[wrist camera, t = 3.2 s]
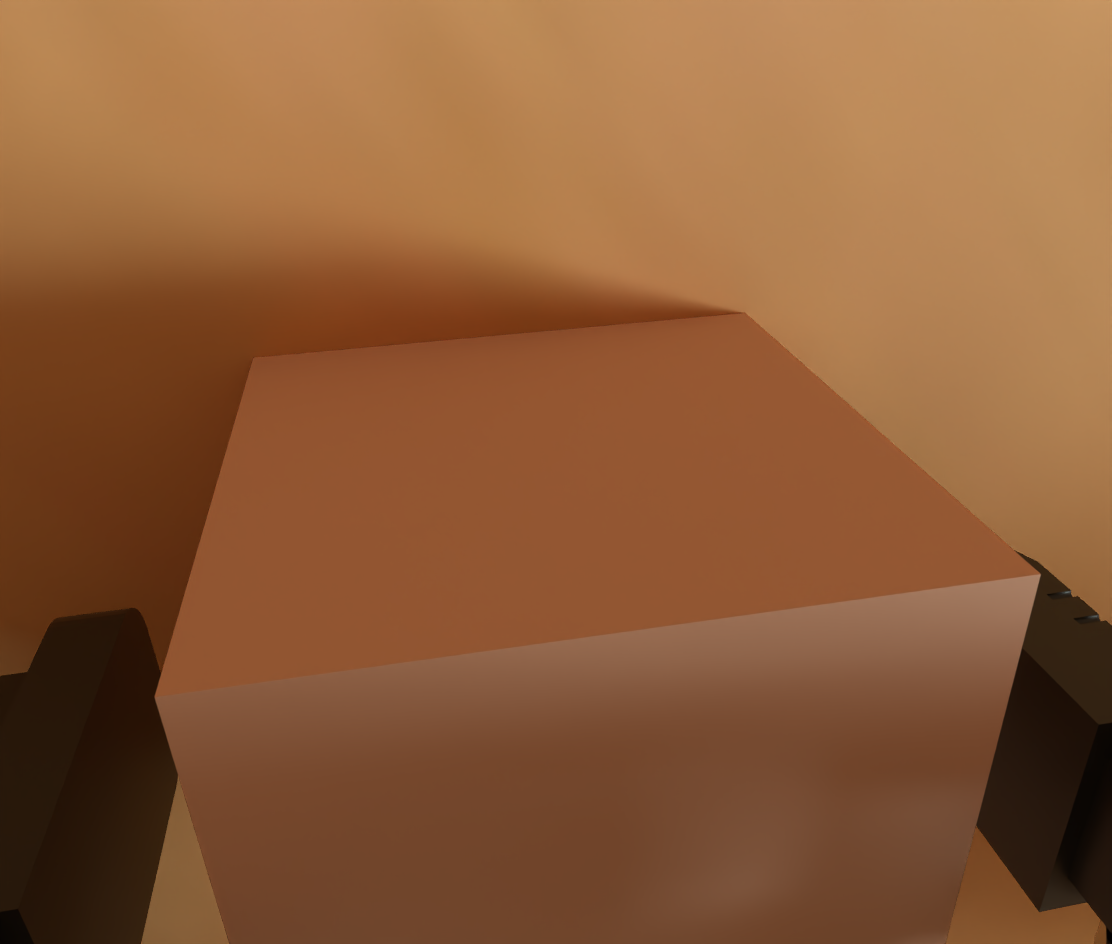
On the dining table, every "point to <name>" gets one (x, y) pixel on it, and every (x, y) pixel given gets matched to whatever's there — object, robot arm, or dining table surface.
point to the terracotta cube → (584, 651)
